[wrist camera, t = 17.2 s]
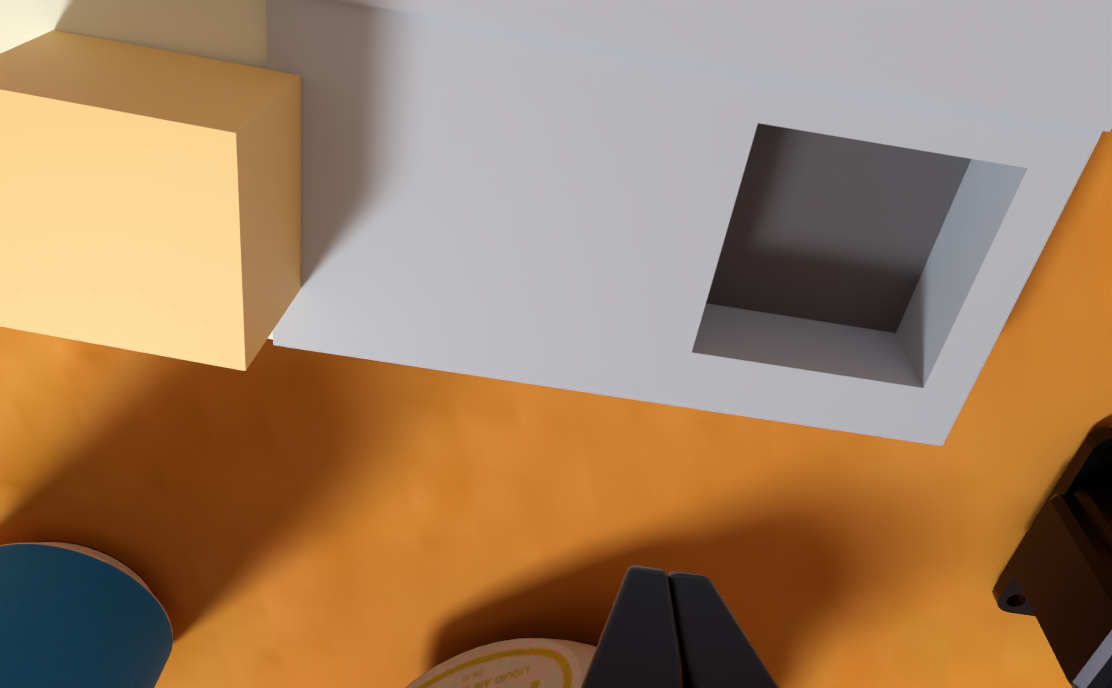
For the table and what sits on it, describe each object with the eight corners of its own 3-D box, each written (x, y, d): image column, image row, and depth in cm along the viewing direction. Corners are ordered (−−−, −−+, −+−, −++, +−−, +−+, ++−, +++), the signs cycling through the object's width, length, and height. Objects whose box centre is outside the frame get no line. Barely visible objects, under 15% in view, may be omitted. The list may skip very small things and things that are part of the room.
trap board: (1266, -385, 14) (1387, -408, 12) (911, 383, 22) (945, 451, 20) (-112, -663, 13) (-254, -745, 11) (48, 250, 21) (-14, 307, 19)
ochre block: (300, 75, 16) (236, 133, 14) (300, 289, 19) (245, 371, 16) (53, 29, 16) (-57, 78, 14) (86, 249, 19) (-2, 326, 16)
